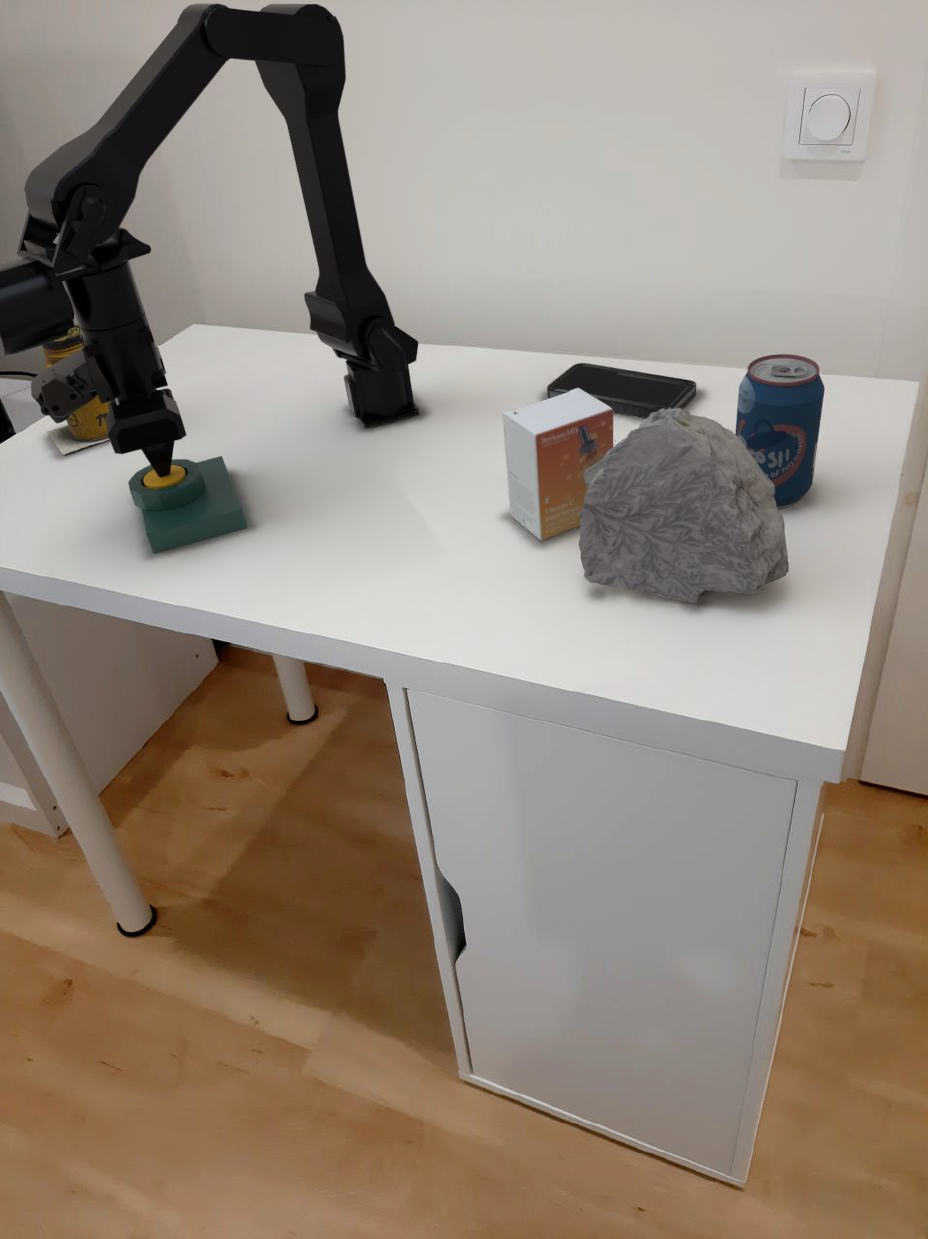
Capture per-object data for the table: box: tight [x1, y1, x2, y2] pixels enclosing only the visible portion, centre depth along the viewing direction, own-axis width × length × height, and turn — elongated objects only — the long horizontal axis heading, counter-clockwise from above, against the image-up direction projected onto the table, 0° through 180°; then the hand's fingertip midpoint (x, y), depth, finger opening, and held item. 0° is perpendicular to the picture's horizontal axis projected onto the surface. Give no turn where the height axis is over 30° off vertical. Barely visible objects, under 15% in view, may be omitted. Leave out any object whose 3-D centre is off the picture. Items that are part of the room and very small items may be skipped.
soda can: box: [734, 353, 825, 509], centre depth 85 cm, size 7×7×12 cm
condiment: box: [41, 323, 115, 456], centre depth 110 cm, size 7×8×12 cm
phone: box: [546, 362, 697, 419], centre depth 107 cm, size 8×1×15 cm
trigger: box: [144, 465, 186, 489], centre depth 95 cm, size 4×4×2 cm
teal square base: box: [127, 455, 248, 555], centre depth 95 cm, size 10×12×4 cm
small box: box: [502, 388, 614, 541], centre depth 86 cm, size 8×6×10 cm
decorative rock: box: [578, 408, 790, 604], centre depth 75 cm, size 16×7×15 cm, turn 68°
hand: (164, 474), depth 95 cm, fingers closed, pressing on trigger
